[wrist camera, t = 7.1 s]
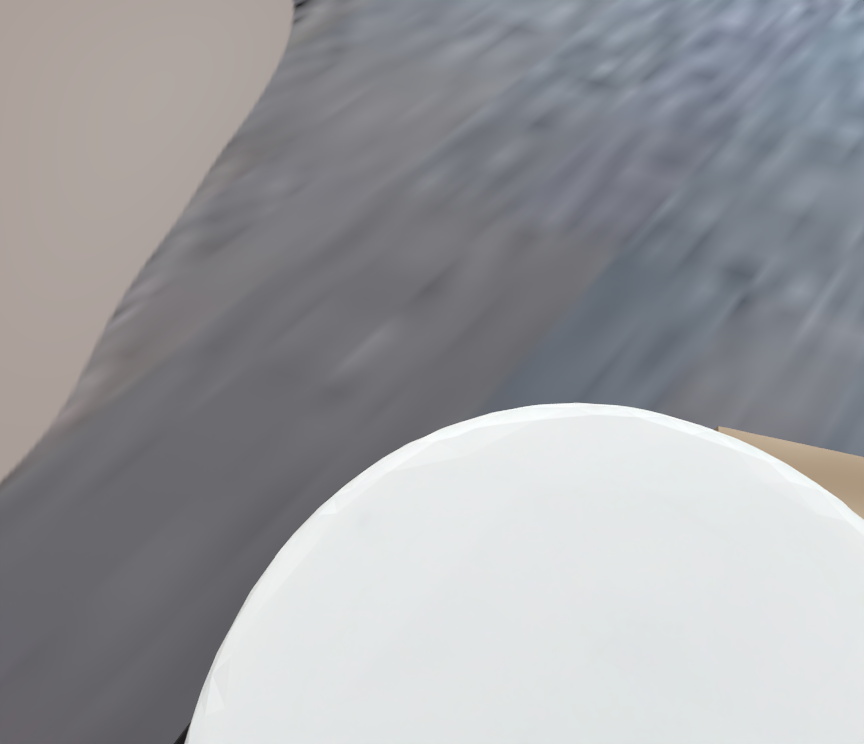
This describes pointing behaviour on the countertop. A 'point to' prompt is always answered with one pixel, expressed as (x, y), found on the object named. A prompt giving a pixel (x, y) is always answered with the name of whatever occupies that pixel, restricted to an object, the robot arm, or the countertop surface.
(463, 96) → the countertop surface
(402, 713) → the supplement bottle
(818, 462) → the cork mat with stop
